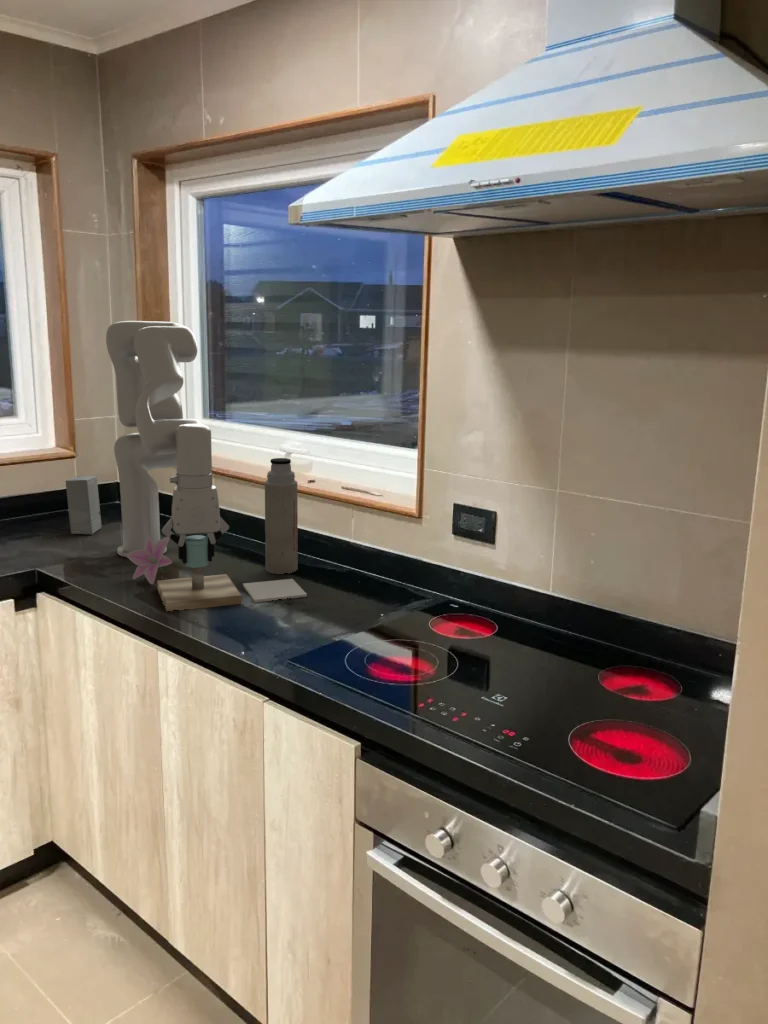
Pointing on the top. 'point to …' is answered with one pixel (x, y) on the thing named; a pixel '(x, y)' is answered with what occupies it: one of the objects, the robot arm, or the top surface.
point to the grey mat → (274, 590)
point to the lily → (150, 559)
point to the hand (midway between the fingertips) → (196, 560)
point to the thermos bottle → (281, 518)
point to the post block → (198, 591)
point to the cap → (196, 551)
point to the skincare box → (83, 504)
